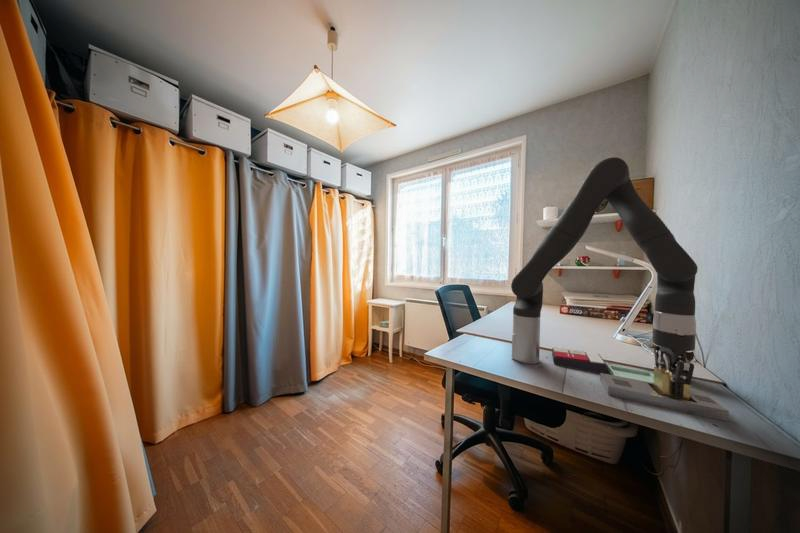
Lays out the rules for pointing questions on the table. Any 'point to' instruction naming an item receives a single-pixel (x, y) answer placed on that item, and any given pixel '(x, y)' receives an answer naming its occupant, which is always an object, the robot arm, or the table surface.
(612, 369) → the tray
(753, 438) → the table surface
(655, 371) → the tan holed block
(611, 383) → the rail
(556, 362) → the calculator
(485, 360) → the table surface
